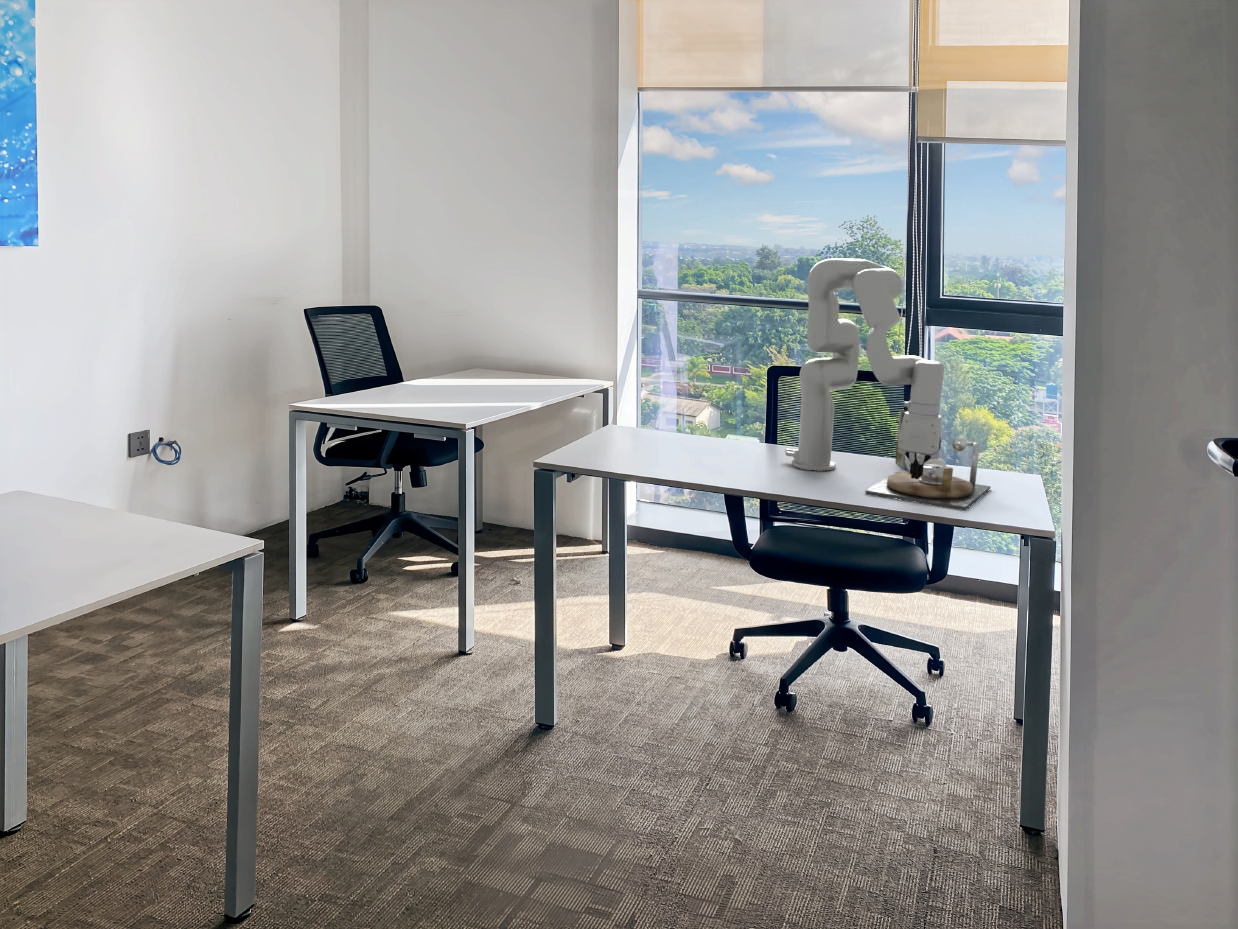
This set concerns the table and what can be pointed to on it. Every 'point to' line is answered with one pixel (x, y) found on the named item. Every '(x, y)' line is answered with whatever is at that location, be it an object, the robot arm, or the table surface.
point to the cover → (932, 474)
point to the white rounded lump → (930, 461)
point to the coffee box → (899, 457)
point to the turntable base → (954, 503)
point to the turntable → (948, 489)
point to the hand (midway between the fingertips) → (915, 477)
